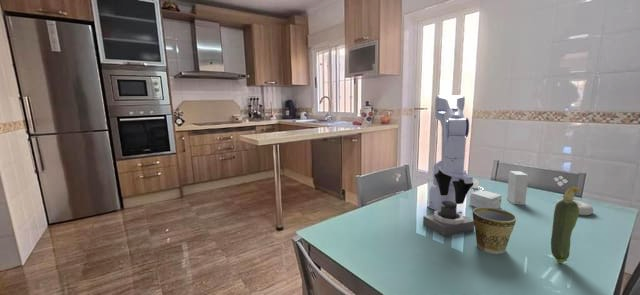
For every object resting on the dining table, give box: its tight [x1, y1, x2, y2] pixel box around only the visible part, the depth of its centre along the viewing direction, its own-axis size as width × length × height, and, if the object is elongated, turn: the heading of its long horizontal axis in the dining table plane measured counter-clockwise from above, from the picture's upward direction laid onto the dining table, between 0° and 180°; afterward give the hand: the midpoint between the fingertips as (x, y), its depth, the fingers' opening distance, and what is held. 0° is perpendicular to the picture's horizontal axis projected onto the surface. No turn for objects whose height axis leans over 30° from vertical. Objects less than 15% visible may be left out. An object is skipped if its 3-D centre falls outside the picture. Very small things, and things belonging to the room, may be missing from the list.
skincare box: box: [506, 170, 529, 206], centre depth 108 cm, size 6×4×12 cm
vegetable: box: [550, 185, 580, 265], centre depth 67 cm, size 4×4×20 cm
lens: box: [441, 201, 458, 219], centre depth 87 cm, size 4×4×5 cm
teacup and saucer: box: [469, 179, 485, 192], centre depth 127 cm, size 9×8×4 cm
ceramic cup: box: [472, 207, 517, 255], centre depth 76 cm, size 13×10×10 cm
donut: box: [556, 199, 594, 216], centre depth 99 cm, size 10×4×10 cm
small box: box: [469, 189, 503, 209], centre depth 105 cm, size 8×8×5 cm
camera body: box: [422, 210, 475, 238], centre depth 88 cm, size 9×12×4 cm
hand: (451, 199), depth 87 cm, fingers open, 7 cm apart
